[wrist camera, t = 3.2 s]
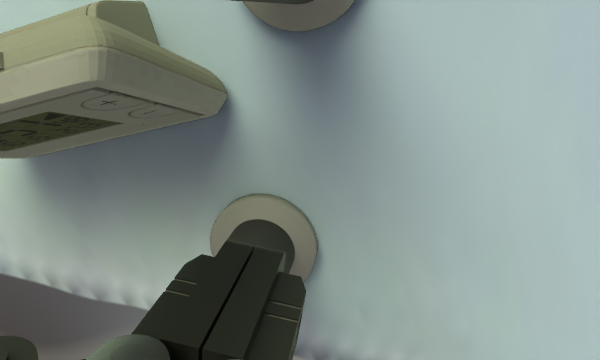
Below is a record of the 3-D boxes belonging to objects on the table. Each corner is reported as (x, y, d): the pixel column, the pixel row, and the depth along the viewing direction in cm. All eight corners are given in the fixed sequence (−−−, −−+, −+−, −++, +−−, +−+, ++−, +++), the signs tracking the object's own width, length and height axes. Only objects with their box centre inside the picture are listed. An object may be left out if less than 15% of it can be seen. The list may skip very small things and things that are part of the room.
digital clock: (17, 151, 29) (-164, 220, 20) (-26, 12, 26) (-268, 13, 16) (239, 153, 26) (154, 237, 17) (223, -4, 23) (104, -15, 13)
